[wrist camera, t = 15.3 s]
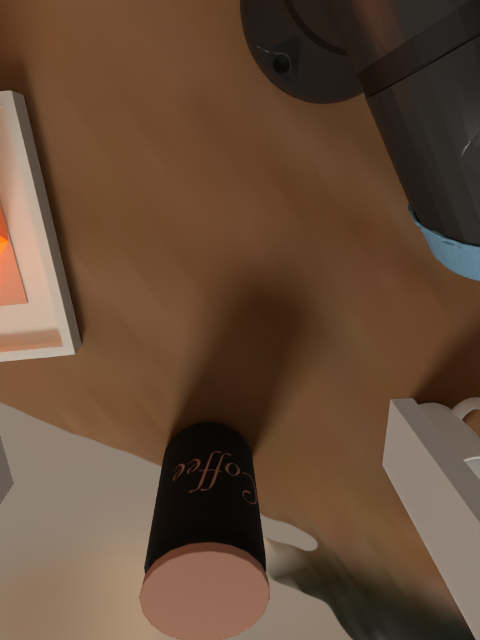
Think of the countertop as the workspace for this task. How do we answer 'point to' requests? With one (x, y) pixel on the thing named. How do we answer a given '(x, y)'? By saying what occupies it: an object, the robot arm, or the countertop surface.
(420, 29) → the robot arm
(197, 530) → the coffee jar
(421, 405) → the mug
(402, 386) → the countertop surface
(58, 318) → the tray
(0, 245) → the orange juice
